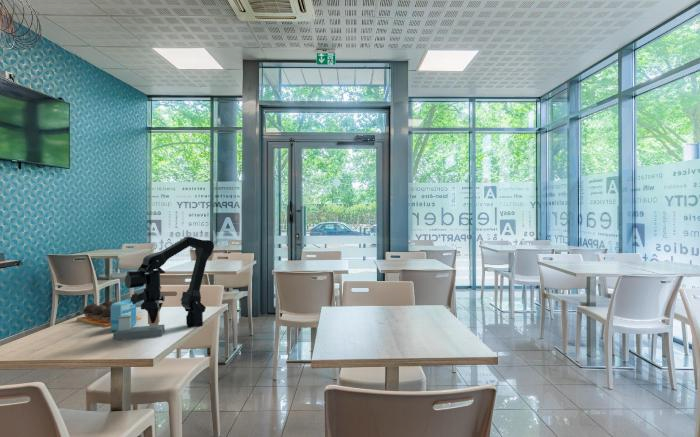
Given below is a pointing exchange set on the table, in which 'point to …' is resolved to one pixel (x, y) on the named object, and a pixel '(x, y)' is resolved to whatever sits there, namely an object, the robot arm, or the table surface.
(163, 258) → the robot arm
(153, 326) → the brown rectangular block
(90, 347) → the table surface
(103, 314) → the chocolates on board
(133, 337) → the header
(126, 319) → the grey plug
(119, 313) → the data package
